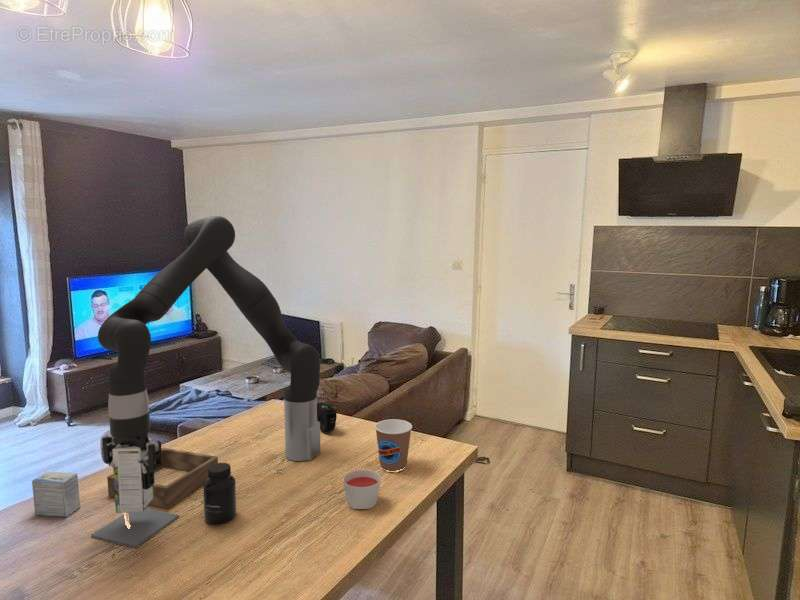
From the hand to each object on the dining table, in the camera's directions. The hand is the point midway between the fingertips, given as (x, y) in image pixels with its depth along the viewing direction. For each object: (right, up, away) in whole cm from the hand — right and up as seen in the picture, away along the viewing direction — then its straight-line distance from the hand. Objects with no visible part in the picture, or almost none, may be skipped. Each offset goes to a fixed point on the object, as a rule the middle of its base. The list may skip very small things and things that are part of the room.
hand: (134, 484), depth 107 cm
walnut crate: (-2, -7, +20) cm, 21 cm away
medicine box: (-21, -9, +7) cm, 24 cm away
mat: (0, -10, +1) cm, 10 cm away
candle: (+49, -9, +11) cm, 51 cm away
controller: (+33, -3, +56) cm, 65 cm away
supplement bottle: (+17, -9, +5) cm, 20 cm away
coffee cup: (+56, -7, +30) cm, 64 cm away
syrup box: (0, -5, +1) cm, 5 cm away
